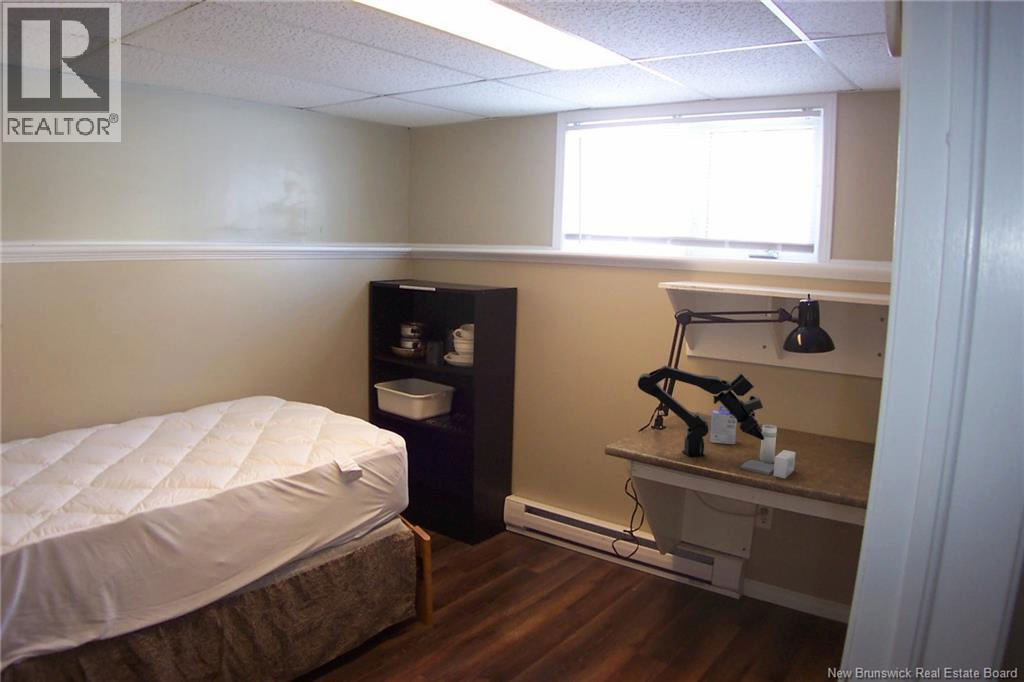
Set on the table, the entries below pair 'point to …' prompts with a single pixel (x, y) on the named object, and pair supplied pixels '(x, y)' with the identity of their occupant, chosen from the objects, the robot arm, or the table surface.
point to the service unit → (784, 464)
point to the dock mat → (758, 467)
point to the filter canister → (768, 443)
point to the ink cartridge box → (723, 427)
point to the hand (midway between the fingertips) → (762, 435)
